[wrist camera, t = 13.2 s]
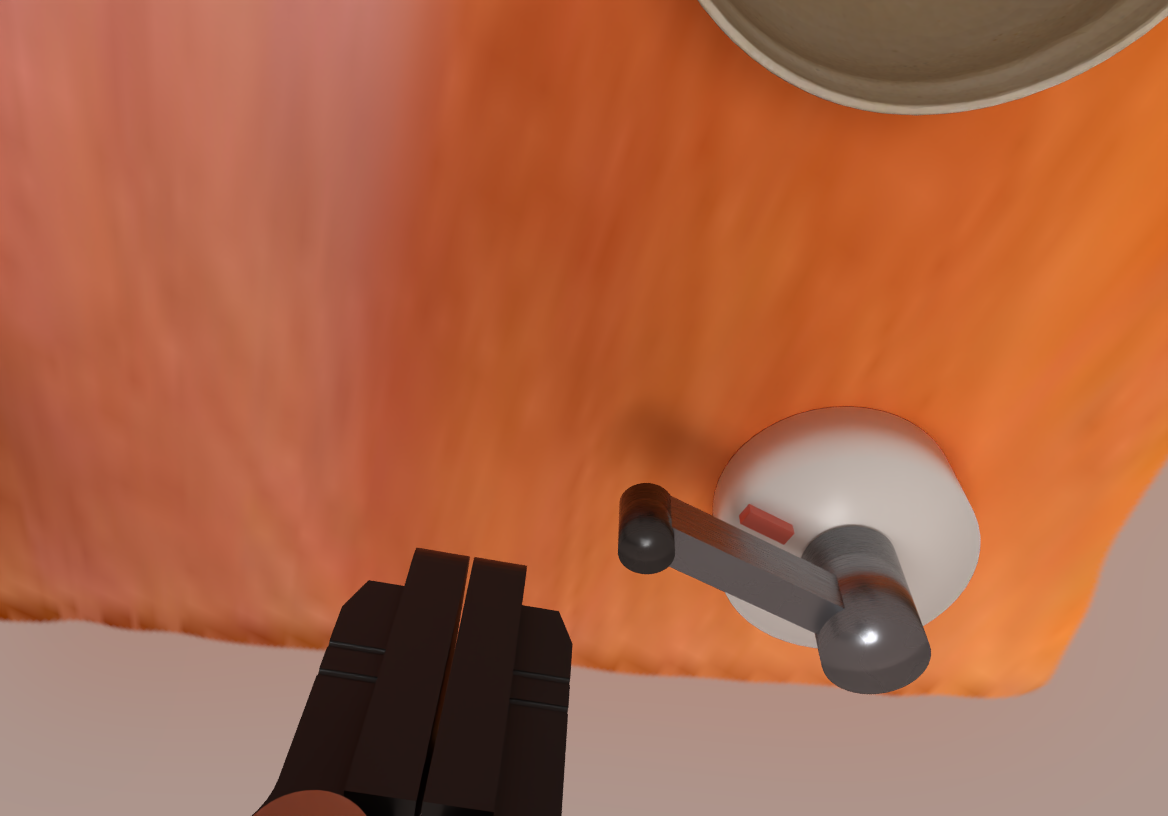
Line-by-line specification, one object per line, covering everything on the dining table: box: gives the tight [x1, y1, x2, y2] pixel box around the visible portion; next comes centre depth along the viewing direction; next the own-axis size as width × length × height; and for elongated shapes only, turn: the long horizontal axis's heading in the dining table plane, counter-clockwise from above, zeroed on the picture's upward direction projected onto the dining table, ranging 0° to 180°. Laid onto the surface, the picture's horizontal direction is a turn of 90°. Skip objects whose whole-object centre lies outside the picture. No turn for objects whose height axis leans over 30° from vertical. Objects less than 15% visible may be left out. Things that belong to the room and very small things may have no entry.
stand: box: [713, 407, 980, 648], centre depth 43 cm, size 12×12×5 cm
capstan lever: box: [618, 483, 931, 694], centre depth 38 cm, size 14×4×6 cm, turn 61°
